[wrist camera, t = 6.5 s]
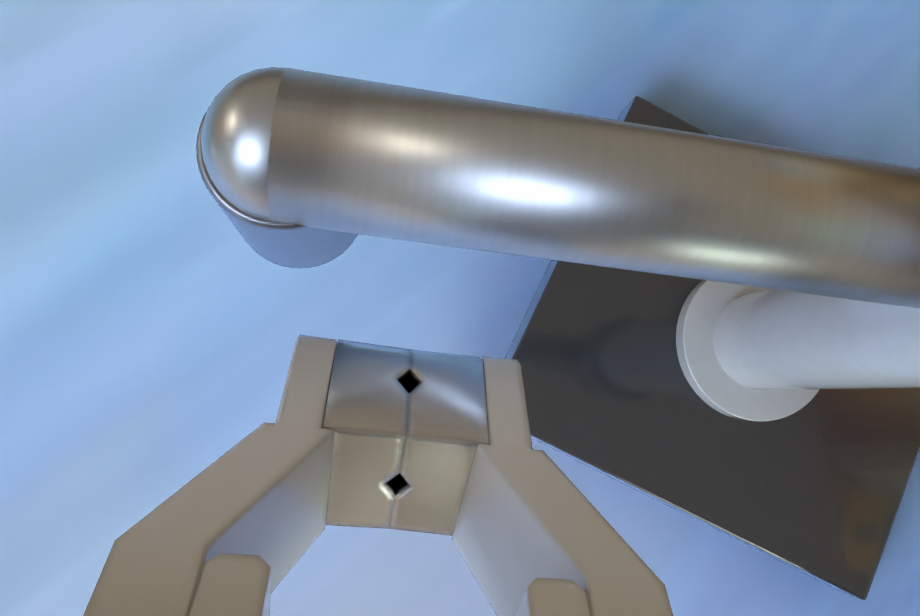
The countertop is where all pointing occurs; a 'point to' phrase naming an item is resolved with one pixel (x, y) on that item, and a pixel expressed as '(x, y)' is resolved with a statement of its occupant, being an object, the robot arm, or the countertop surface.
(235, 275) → the countertop surface
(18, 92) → the countertop surface
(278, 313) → the countertop surface
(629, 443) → the tap stand
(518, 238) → the spout
